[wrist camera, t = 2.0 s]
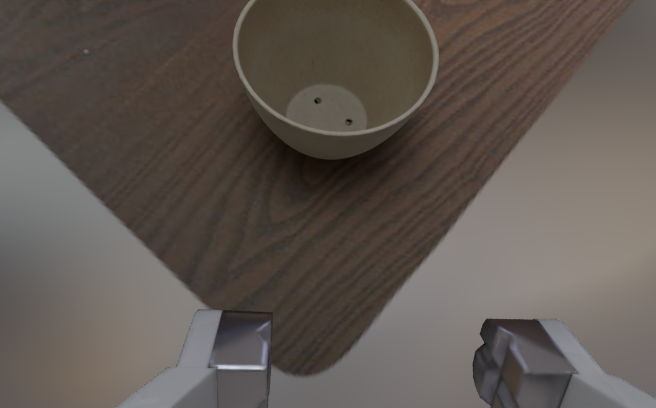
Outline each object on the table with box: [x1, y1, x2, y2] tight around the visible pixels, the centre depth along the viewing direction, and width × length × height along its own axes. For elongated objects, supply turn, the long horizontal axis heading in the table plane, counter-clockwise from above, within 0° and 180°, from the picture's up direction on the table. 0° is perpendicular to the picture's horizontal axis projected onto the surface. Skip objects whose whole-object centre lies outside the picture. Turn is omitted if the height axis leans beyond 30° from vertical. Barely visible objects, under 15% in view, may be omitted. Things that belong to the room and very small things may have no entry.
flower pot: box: [233, 0, 439, 160], centre depth 25 cm, size 10×10×7 cm
